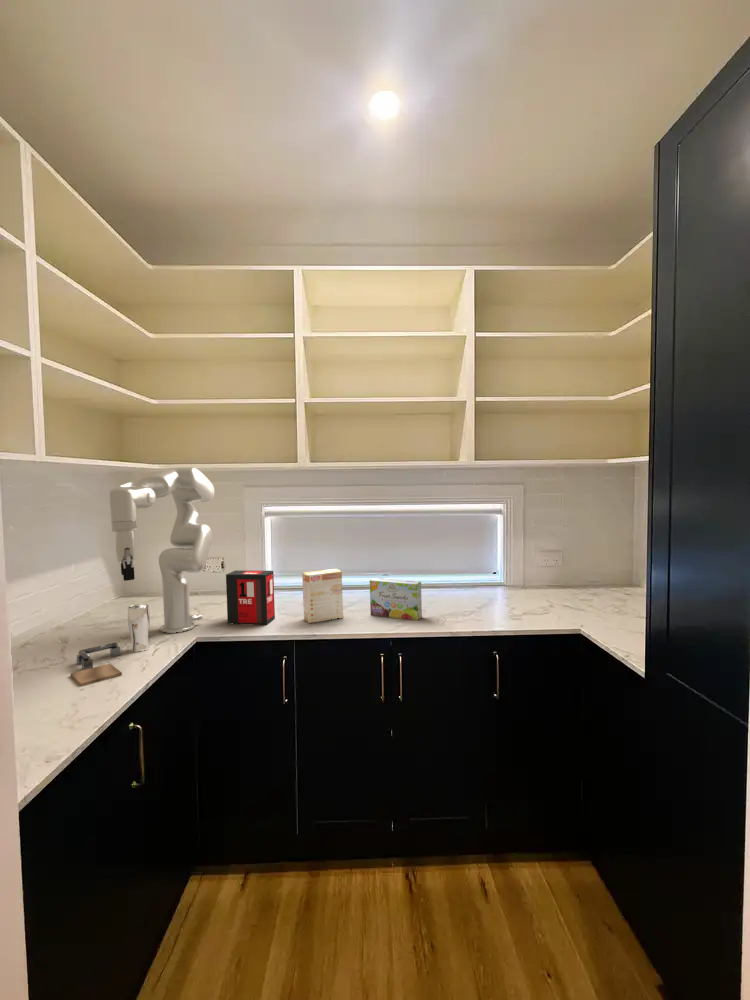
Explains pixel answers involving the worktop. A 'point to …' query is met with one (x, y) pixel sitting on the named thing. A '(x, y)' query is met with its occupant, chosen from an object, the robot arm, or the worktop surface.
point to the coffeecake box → (322, 595)
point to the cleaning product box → (250, 597)
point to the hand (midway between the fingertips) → (127, 577)
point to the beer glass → (139, 626)
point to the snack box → (396, 598)
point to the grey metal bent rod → (85, 657)
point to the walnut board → (95, 674)
